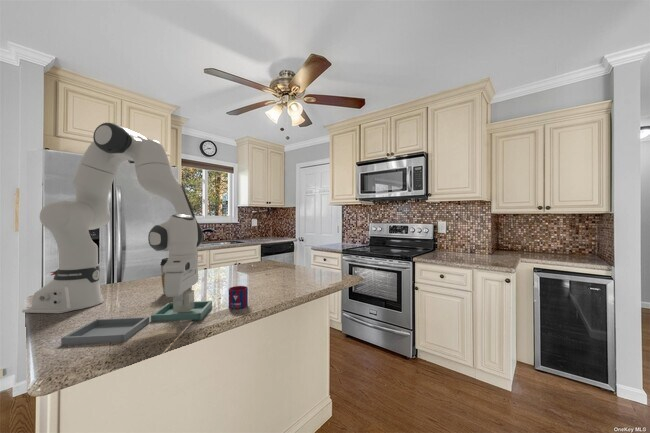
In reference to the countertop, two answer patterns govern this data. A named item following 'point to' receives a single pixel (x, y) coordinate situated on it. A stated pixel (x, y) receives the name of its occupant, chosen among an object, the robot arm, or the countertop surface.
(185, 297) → the stone block
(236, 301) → the cup
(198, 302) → the bin
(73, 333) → the bin
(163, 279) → the coffee cup
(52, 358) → the countertop surface
